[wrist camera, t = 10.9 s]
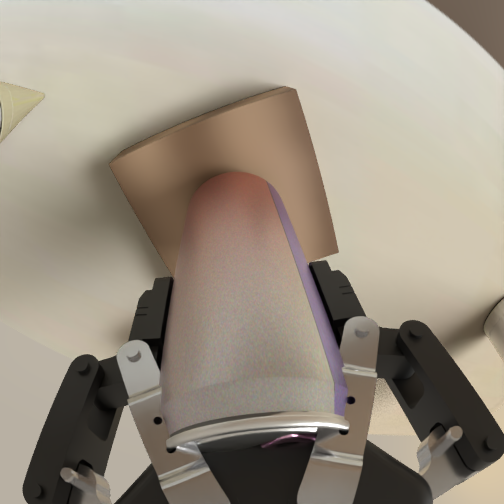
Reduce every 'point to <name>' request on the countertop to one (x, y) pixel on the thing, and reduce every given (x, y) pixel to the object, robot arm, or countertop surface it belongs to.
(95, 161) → the countertop surface
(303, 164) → the pedestal
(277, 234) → the beverage can
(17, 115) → the ice cream cone
